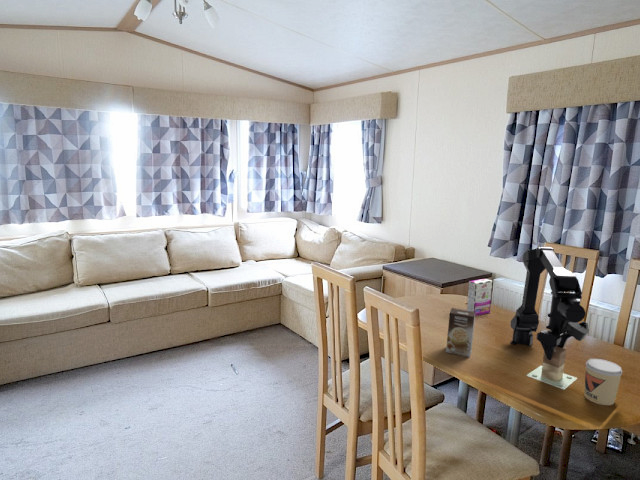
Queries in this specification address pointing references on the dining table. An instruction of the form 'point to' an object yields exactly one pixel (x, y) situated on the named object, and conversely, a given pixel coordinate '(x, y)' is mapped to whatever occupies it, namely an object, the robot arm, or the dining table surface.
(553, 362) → the walnut block
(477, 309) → the candy bar box
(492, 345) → the dining table surface
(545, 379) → the board
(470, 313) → the coffee box
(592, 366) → the cream tub with lid
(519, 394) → the dining table surface
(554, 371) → the oak block
